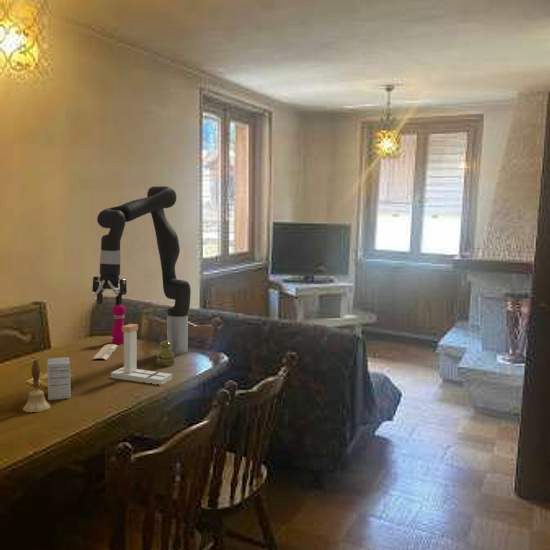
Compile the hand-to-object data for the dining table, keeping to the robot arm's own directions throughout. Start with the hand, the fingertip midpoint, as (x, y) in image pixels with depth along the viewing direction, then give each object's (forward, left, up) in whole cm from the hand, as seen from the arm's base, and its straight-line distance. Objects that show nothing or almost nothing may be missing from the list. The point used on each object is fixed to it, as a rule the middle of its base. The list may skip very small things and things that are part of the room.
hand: (108, 304), depth 214 cm
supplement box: (+24, -11, -28) cm, 39 cm away
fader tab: (+1, +8, -26) cm, 27 cm away
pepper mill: (-51, -9, -28) cm, 59 cm away
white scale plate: (+3, +13, -28) cm, 31 cm away
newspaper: (-32, -10, -29) cm, 44 cm away
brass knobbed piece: (-17, +19, -28) cm, 38 cm away
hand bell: (+36, -14, -28) cm, 48 cm away
